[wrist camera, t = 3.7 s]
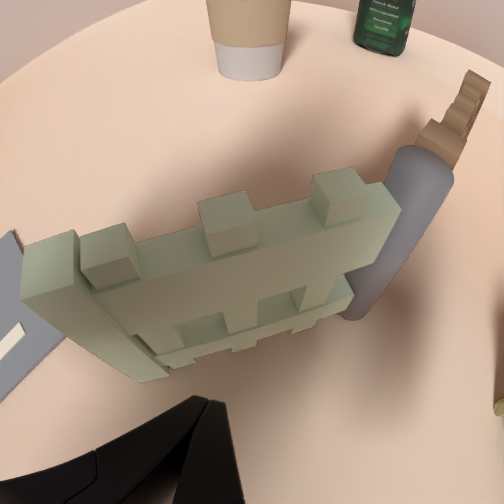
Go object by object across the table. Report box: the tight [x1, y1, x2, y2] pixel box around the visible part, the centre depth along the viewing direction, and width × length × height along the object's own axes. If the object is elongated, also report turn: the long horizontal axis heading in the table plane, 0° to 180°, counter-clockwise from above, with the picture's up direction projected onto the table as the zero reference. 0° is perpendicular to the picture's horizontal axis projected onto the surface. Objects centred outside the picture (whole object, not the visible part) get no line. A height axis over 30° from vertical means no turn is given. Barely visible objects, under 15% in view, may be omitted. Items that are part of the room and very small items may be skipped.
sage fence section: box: [20, 145, 454, 383], centre depth 12 cm, size 12×2×10 cm, turn 108°
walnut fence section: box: [415, 70, 491, 171], centre depth 16 cm, size 11×2×10 cm, turn 138°
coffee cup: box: [206, 0, 291, 81], centre depth 26 cm, size 9×9×15 cm
